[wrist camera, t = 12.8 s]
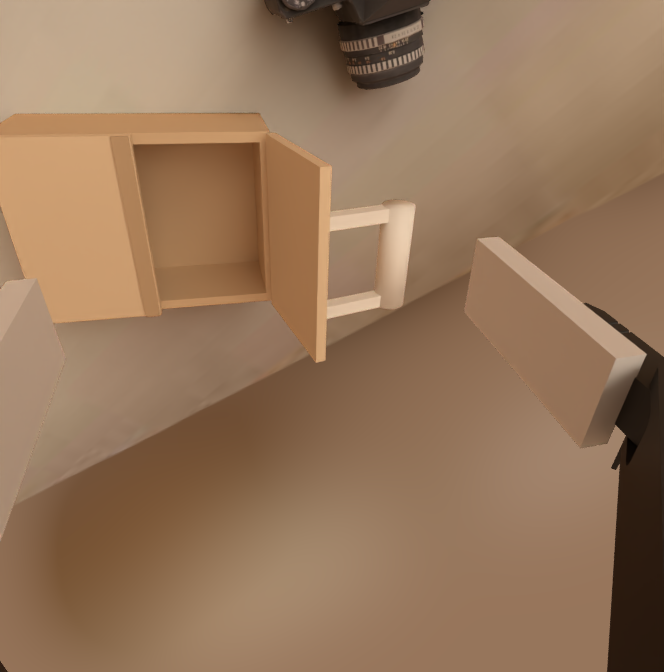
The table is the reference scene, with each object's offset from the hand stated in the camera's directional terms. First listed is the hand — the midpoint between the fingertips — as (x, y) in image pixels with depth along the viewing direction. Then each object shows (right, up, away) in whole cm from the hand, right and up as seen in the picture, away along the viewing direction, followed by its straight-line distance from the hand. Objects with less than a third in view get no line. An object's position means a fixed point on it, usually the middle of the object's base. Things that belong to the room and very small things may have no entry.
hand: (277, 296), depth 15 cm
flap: (-1, +5, +23) cm, 24 cm away
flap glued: (-18, +7, +24) cm, 31 cm away
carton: (-15, +12, +32) cm, 37 cm away
